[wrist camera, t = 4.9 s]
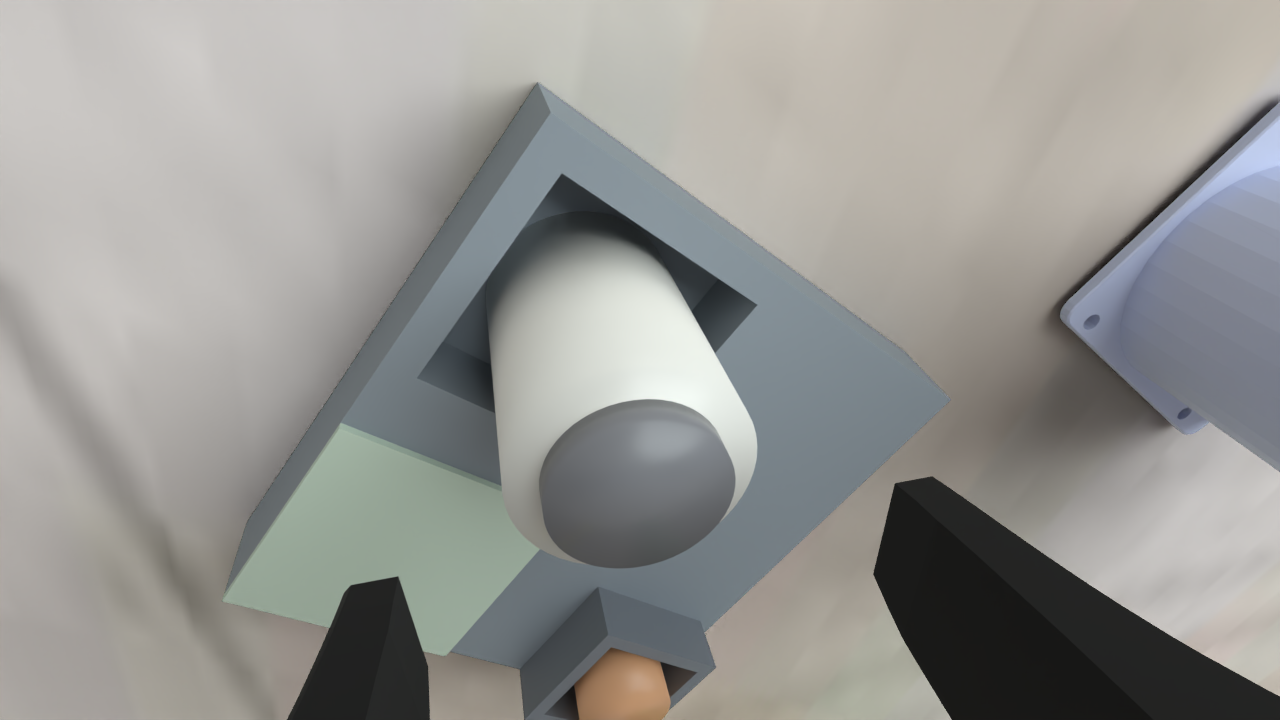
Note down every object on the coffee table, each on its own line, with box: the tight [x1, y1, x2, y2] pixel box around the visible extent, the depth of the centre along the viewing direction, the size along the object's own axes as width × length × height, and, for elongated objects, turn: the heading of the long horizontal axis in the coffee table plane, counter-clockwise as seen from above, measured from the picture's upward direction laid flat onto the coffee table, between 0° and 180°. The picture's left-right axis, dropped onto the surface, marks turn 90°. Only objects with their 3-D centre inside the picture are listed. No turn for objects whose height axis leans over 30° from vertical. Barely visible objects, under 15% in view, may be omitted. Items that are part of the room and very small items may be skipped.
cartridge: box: [486, 211, 757, 569], centre depth 14 cm, size 4×4×7 cm
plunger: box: [574, 647, 671, 720], centre depth 21 cm, size 3×3×2 cm
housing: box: [222, 82, 951, 720], centre depth 19 cm, size 13×14×4 cm
